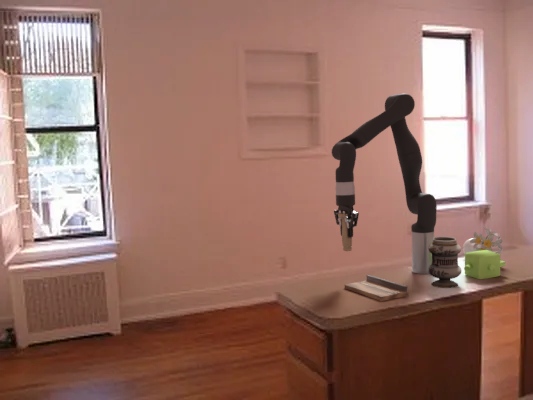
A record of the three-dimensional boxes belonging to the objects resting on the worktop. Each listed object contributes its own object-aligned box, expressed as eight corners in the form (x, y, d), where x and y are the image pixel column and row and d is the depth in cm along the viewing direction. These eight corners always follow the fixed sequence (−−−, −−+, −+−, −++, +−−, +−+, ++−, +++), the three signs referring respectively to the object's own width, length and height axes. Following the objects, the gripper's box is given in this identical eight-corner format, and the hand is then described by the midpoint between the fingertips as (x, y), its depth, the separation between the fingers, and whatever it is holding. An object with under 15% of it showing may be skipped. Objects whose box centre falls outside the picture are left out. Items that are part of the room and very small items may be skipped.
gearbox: (471, 283, 217) (471, 259, 216) (455, 276, 226) (455, 253, 225) (509, 276, 222) (509, 253, 221) (492, 270, 232) (492, 248, 230)
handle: (357, 250, 221) (356, 212, 220) (343, 252, 219) (342, 214, 217) (351, 248, 226) (349, 211, 224) (337, 250, 223) (335, 213, 222)
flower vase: (464, 272, 260) (483, 270, 235) (453, 234, 263) (471, 228, 238) (491, 266, 260) (513, 263, 235) (479, 227, 263) (500, 221, 238)
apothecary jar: (442, 290, 206) (441, 242, 204) (421, 283, 217) (421, 237, 215) (468, 286, 210) (468, 238, 209) (447, 279, 221) (446, 234, 220)
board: (369, 283, 221) (369, 274, 220) (408, 295, 201) (407, 286, 201) (344, 288, 215) (344, 279, 215) (381, 301, 196) (381, 291, 196)
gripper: (364, 193, 215) (365, 237, 217) (342, 191, 228) (344, 233, 230) (348, 195, 212) (349, 240, 214) (327, 193, 224) (328, 235, 226)
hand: (346, 236), depth 222 cm, fingers closed on handle, 4 cm apart
